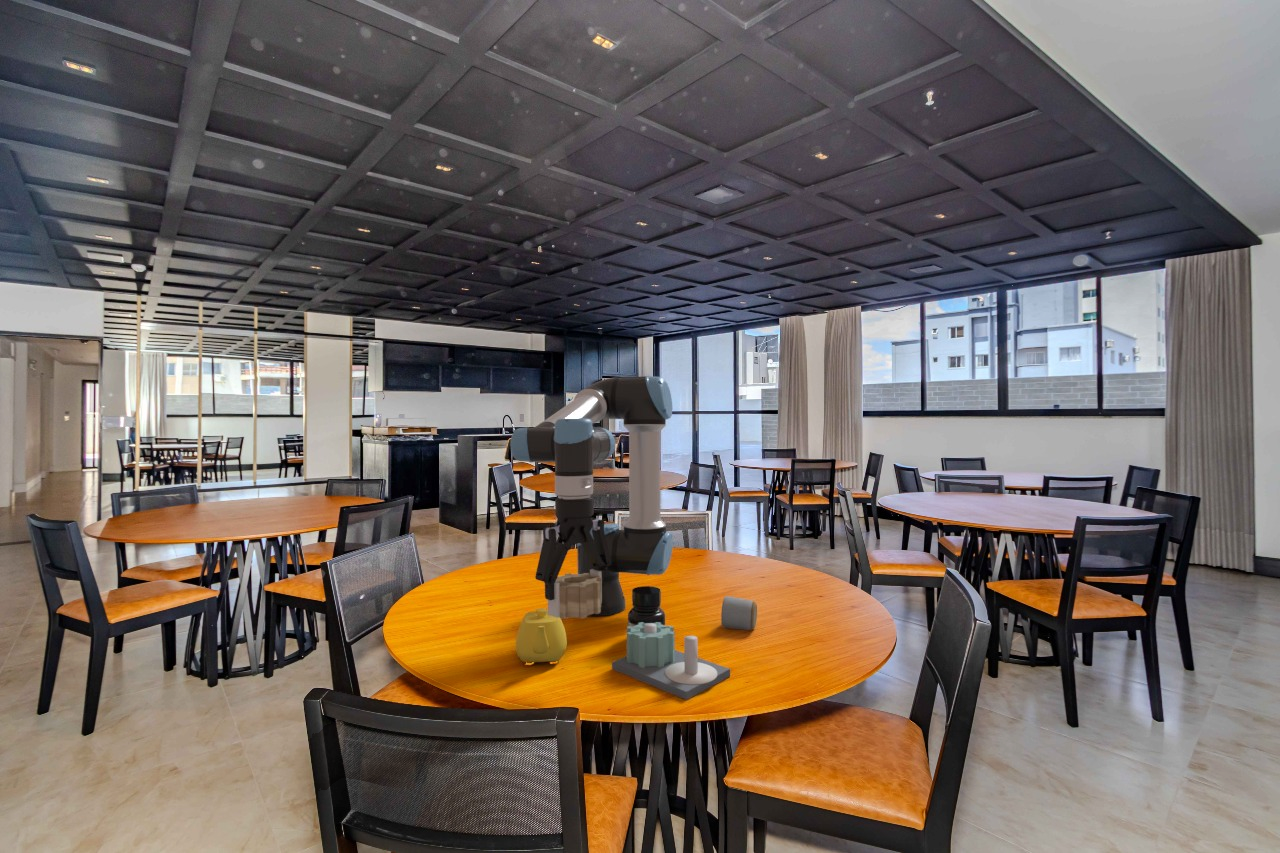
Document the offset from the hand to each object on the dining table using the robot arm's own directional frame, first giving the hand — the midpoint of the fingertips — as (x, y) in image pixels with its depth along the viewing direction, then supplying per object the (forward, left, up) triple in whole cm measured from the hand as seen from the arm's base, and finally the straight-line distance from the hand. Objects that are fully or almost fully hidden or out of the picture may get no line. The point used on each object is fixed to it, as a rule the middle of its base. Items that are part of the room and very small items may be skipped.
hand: (575, 608), depth 113 cm
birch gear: (0, 0, 0) cm, 0 cm away
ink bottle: (-6, +27, -15) cm, 31 cm away
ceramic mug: (+5, +50, -15) cm, 52 cm away
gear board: (+10, +17, -15) cm, 24 cm away
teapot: (-15, +3, -15) cm, 21 cm away
